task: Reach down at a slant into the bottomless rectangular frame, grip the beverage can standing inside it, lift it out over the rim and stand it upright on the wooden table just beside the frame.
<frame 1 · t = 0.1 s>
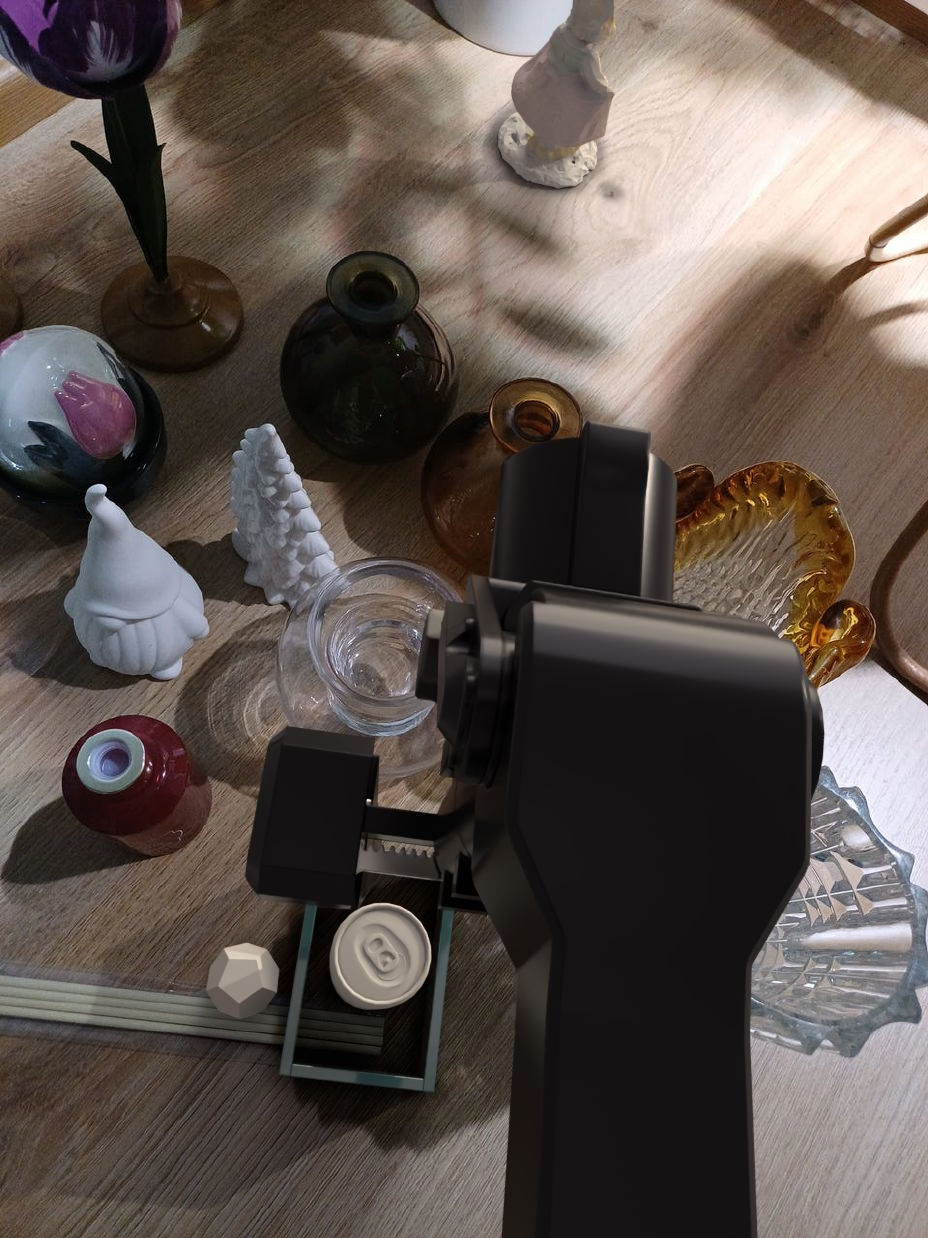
hand: (475, 871, 47), 16 cm above the table, tool pointing down, fingers open, 9 cm apart
beverage can: (370, 965, 60), resting in bottomless rectangular frame
bottomless rectangular frame: (370, 965, 60), on the table
polyhedron: (245, 981, 59), on the table
figurine: (561, 155, 84), on the table
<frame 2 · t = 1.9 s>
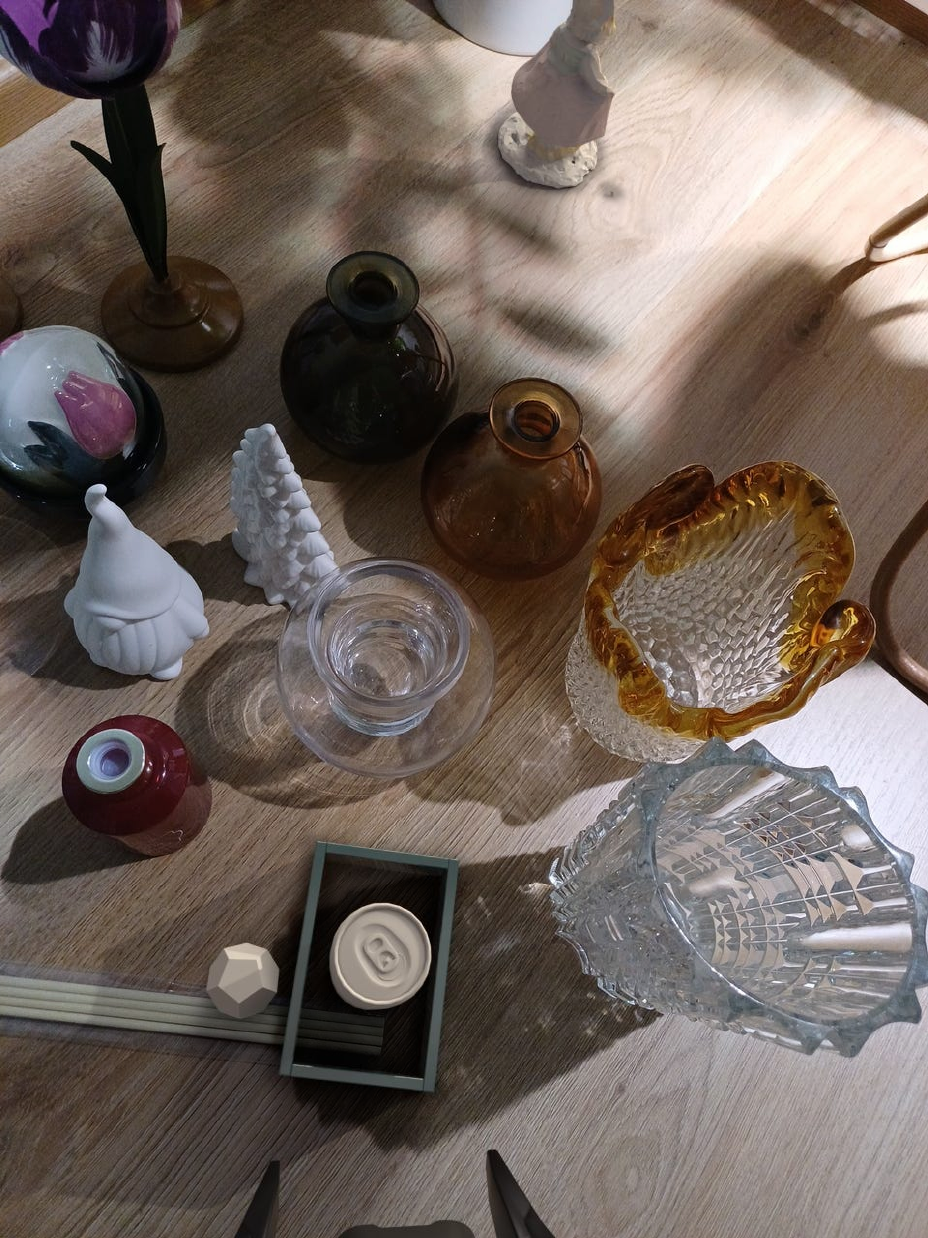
hand: (384, 1161, 44), 13 cm above the table, tool tilted 45°, fingers open, 9 cm apart
nothing on the table moved.
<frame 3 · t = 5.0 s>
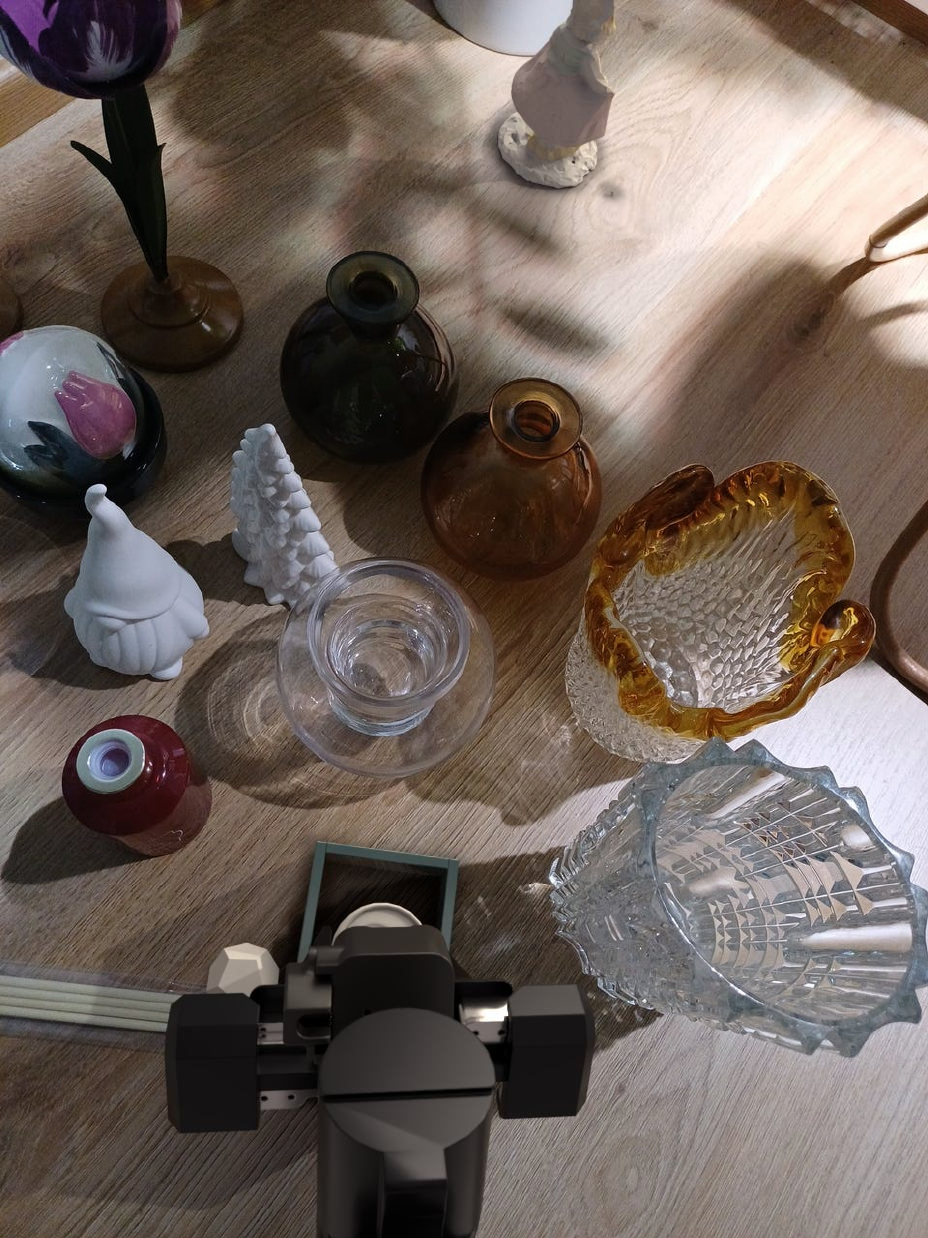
hand: (376, 931, 54), 7 cm above the table, tool tilted 45°, fingers closed on beverage can, 5 cm apart
beverage can: (369, 965, 60), resting in bottomless rectangular frame, touching gripper
everything else where it was.
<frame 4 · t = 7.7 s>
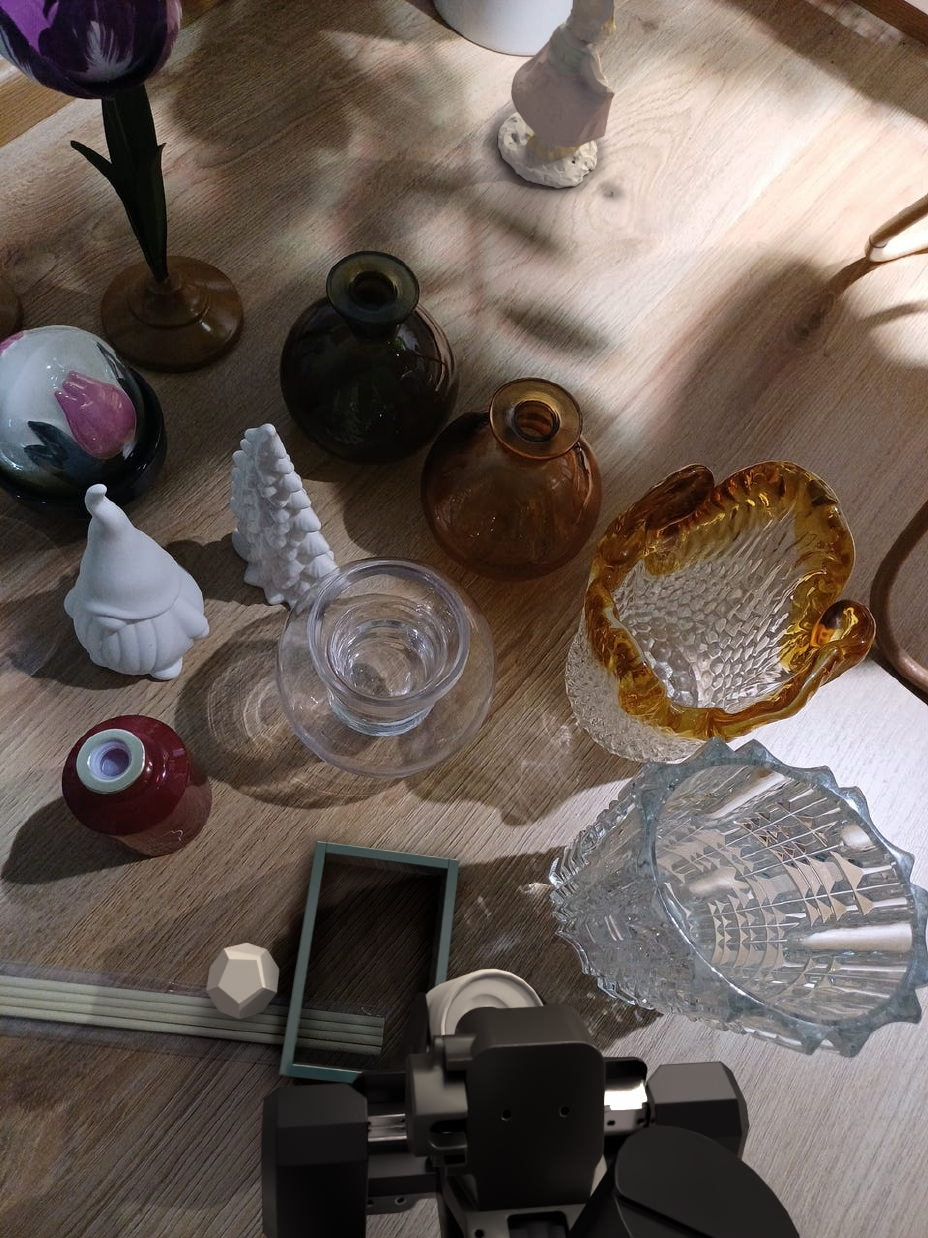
hand: (475, 997, 48), 12 cm above the table, tool tilted 45°, fingers closed on beverage can, 5 cm apart
beverage can: (457, 1029, 54), point 6 cm above the table, touching gripper
everything else where it was.
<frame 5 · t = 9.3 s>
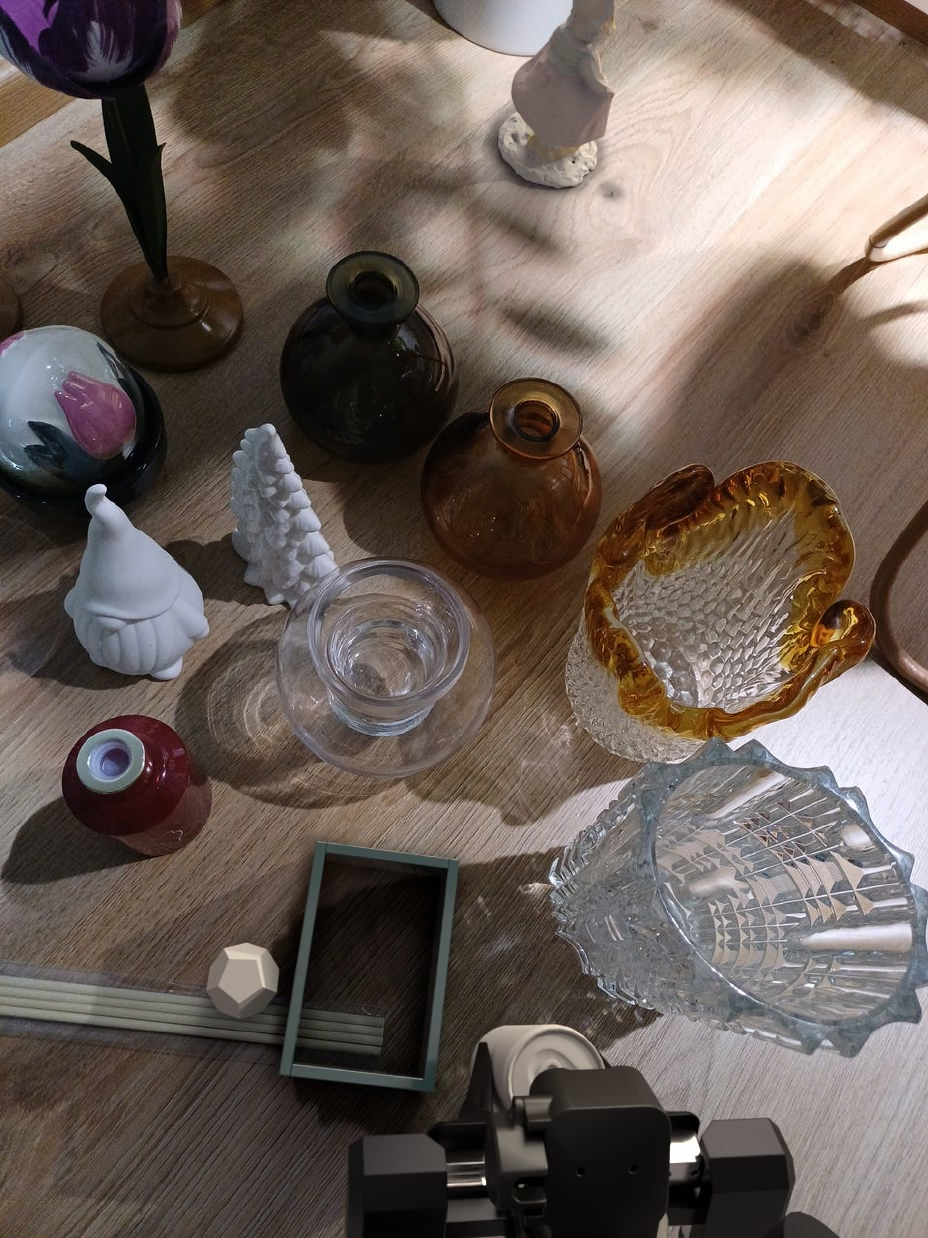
hand: (532, 1046, 52), 8 cm above the table, tool tilted 45°, fingers closed on beverage can, 5 cm apart
beverage can: (509, 1071, 57), point 2 cm above the table, touching gripper
everything else where it was.
when the fingers open (7 cm above the table, at t = 10.3 s): beverage can stays where it is, on the table.
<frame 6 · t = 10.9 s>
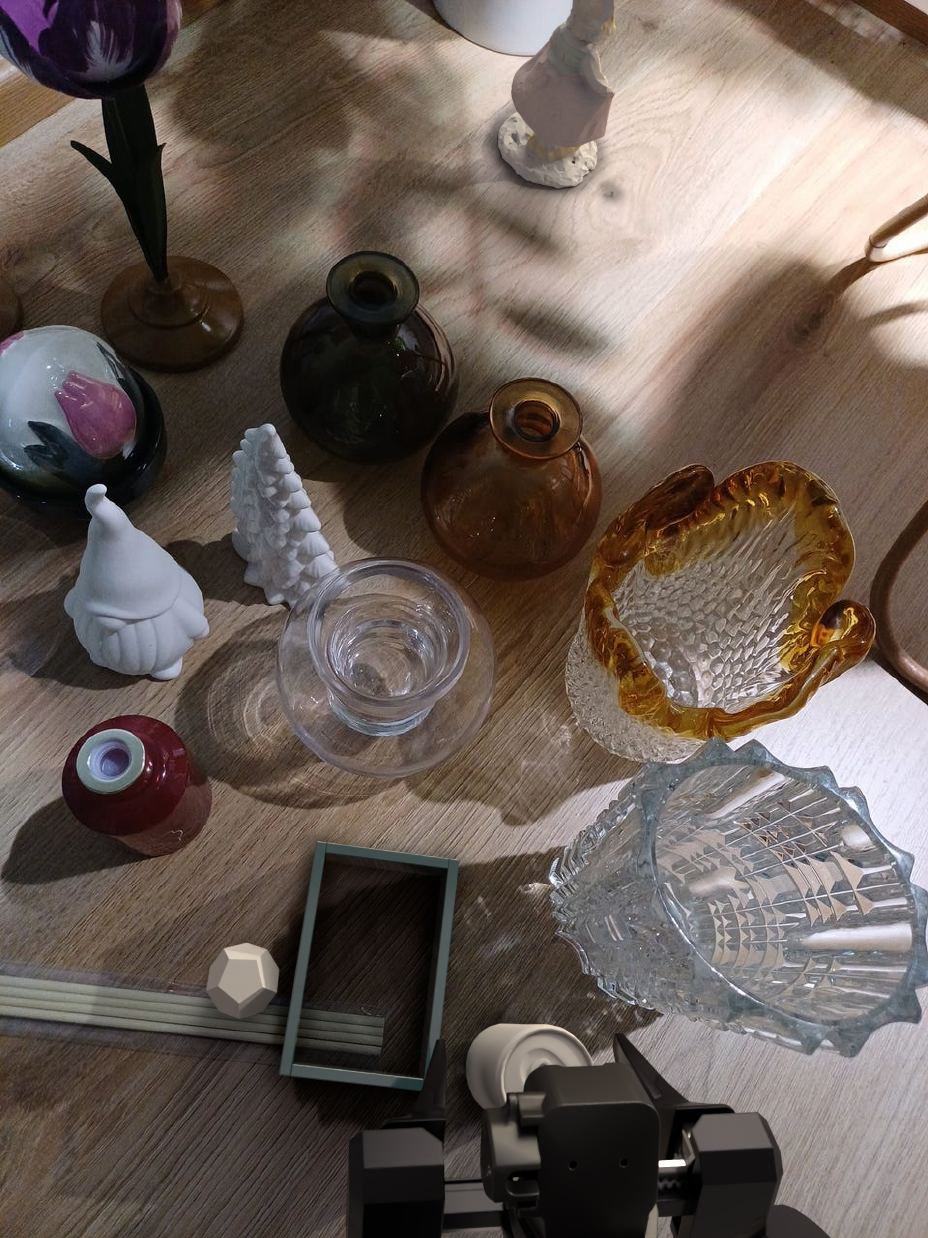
hand: (529, 1042, 53), 7 cm above the table, tool tilted 45°, fingers open, 9 cm apart
beverage can: (504, 1068, 59), on the table
everything else where it was.
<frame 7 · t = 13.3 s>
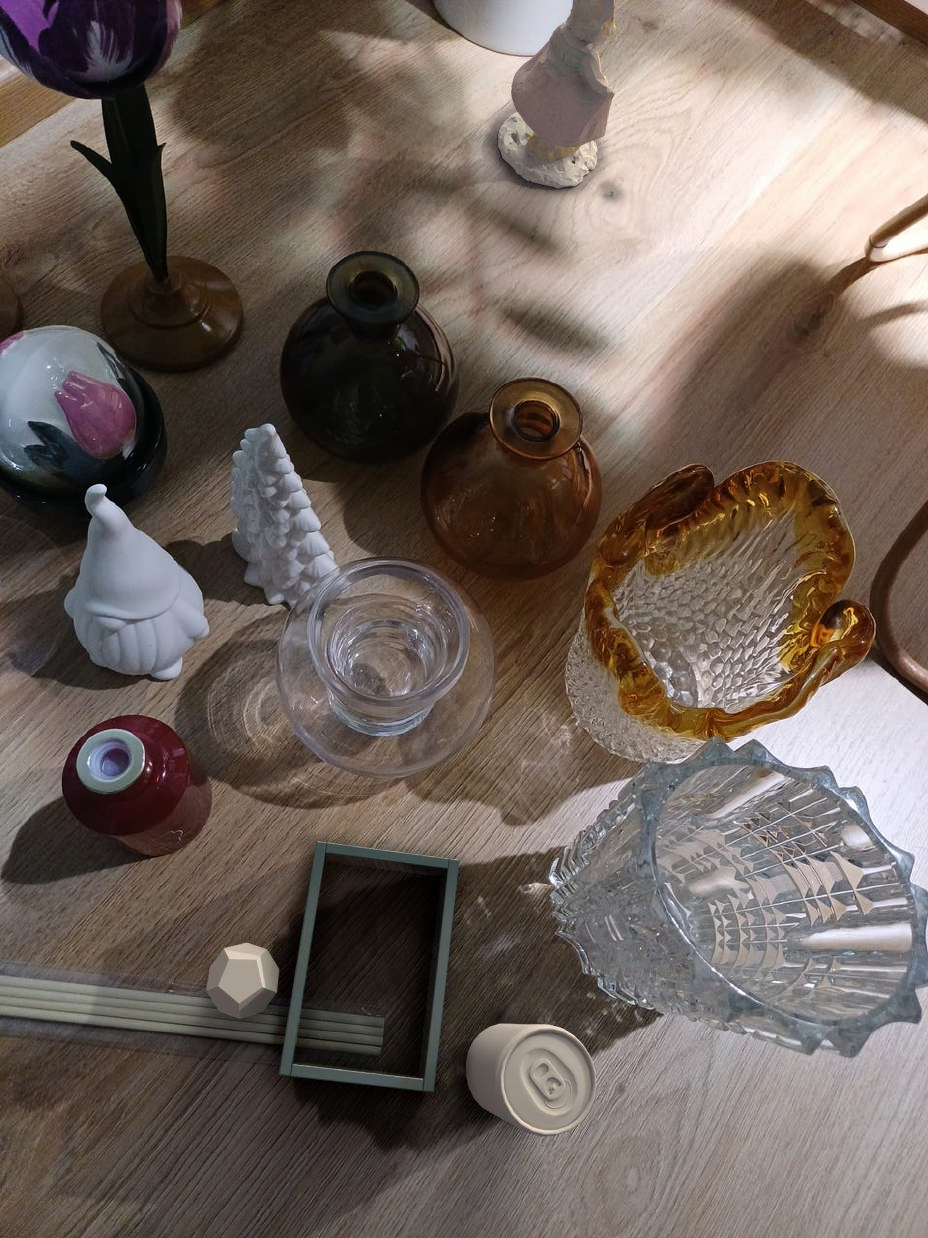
nothing on the table moved.
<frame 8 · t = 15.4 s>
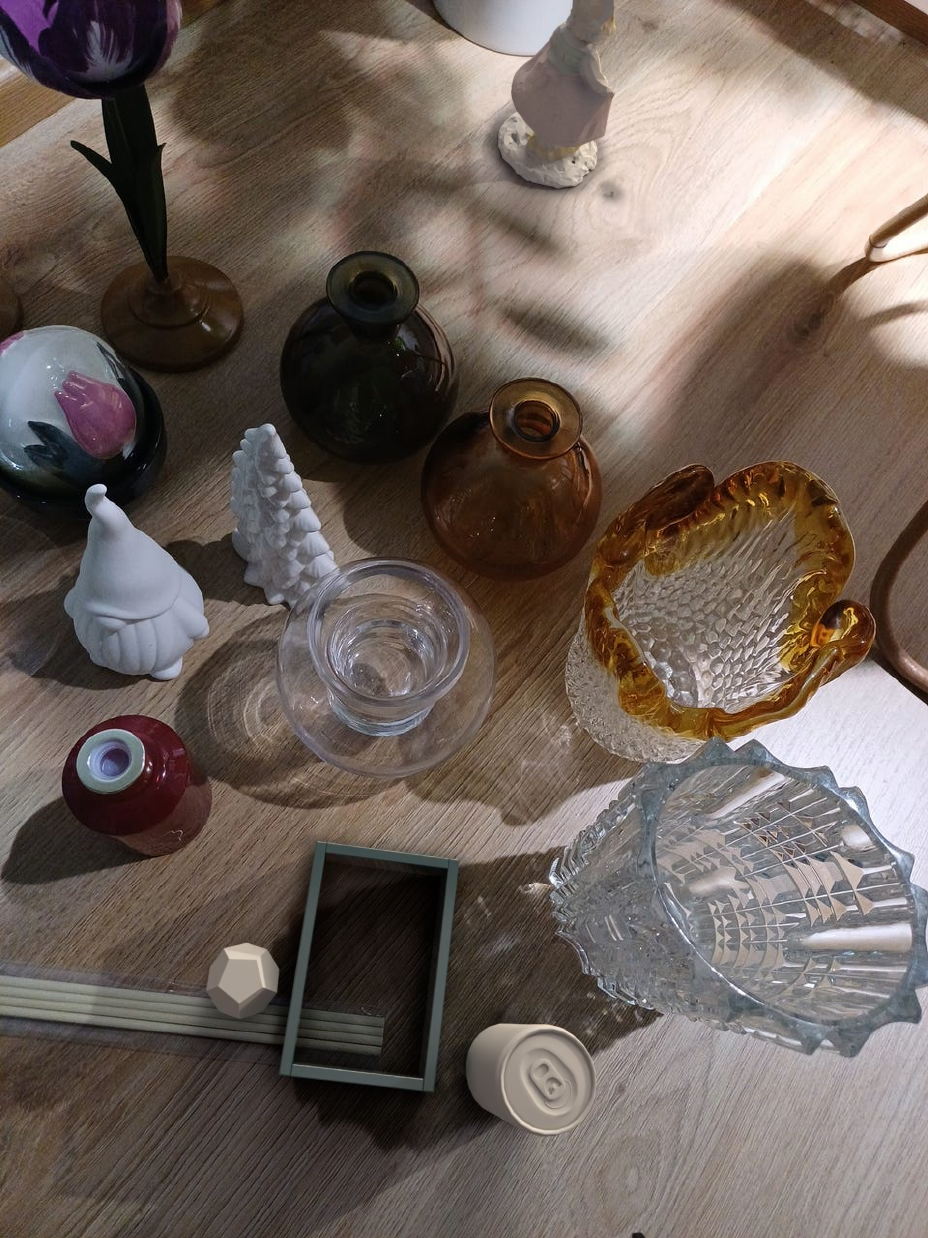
nothing on the table moved.
at the end: beverage can 0.1 cm from the target spot, on the table; beverage can tilted 0°; figurine moved 0.2 cm from its start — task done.
